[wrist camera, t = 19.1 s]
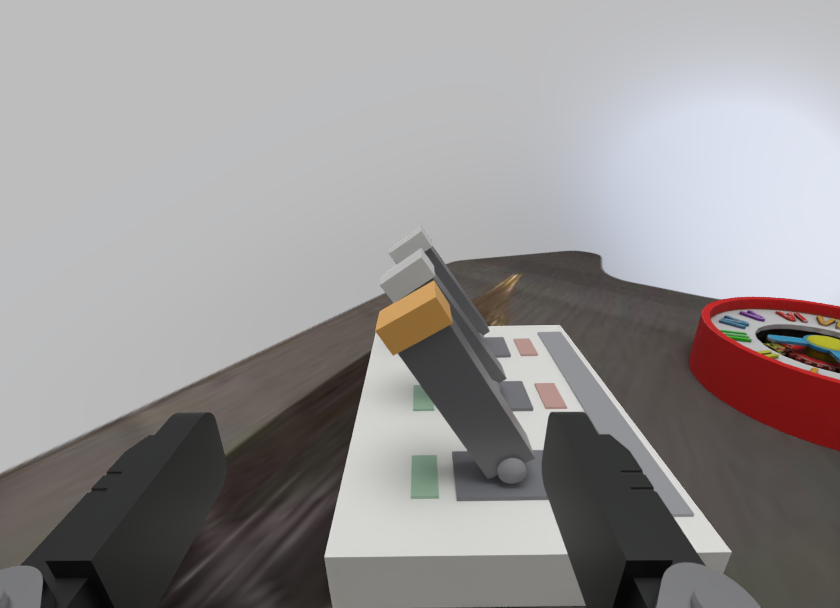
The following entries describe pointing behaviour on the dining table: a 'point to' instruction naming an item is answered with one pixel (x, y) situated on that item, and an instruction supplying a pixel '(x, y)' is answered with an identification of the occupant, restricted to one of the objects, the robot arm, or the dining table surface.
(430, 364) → the lever
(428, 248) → the lever
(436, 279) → the breaker mid
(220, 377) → the dining table surface
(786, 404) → the toy clock
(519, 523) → the panel
